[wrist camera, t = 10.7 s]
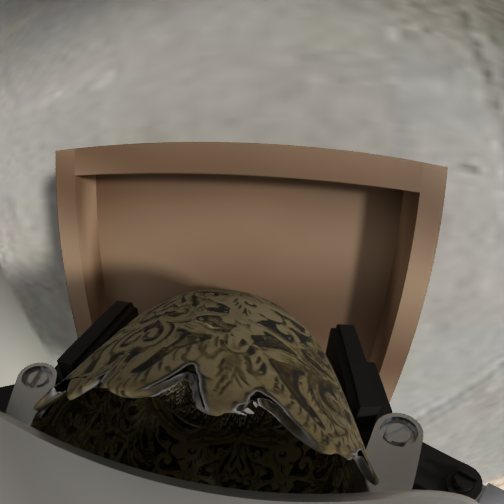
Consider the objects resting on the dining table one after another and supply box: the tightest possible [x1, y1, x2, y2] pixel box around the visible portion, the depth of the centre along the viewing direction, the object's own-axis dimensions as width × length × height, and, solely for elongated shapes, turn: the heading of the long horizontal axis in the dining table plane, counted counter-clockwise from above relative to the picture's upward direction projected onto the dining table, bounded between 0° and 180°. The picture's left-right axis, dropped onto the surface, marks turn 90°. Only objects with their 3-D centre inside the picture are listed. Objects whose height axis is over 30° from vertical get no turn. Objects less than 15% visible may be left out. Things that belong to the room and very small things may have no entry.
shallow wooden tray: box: [56, 142, 448, 402], centre depth 14 cm, size 14×14×6 cm
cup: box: [31, 289, 379, 494], centre depth 8 cm, size 8×7×8 cm
